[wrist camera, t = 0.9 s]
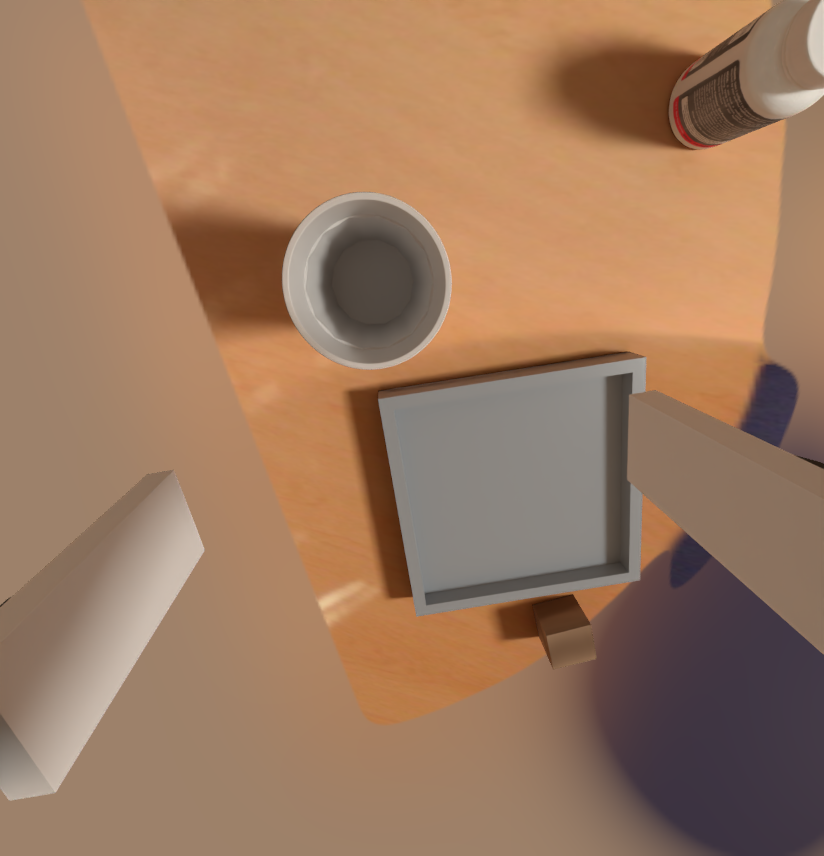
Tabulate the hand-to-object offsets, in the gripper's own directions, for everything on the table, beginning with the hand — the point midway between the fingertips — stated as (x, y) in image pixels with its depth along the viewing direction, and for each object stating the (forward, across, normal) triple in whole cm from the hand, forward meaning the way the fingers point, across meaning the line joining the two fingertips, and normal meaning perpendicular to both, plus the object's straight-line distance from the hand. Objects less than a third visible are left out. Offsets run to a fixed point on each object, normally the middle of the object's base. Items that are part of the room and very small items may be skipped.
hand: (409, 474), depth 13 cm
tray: (+22, +8, -14) cm, 27 cm away
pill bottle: (+23, +23, +12) cm, 35 cm away
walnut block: (+22, +11, -28) cm, 37 cm away
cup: (+23, -1, +4) cm, 23 cm away
